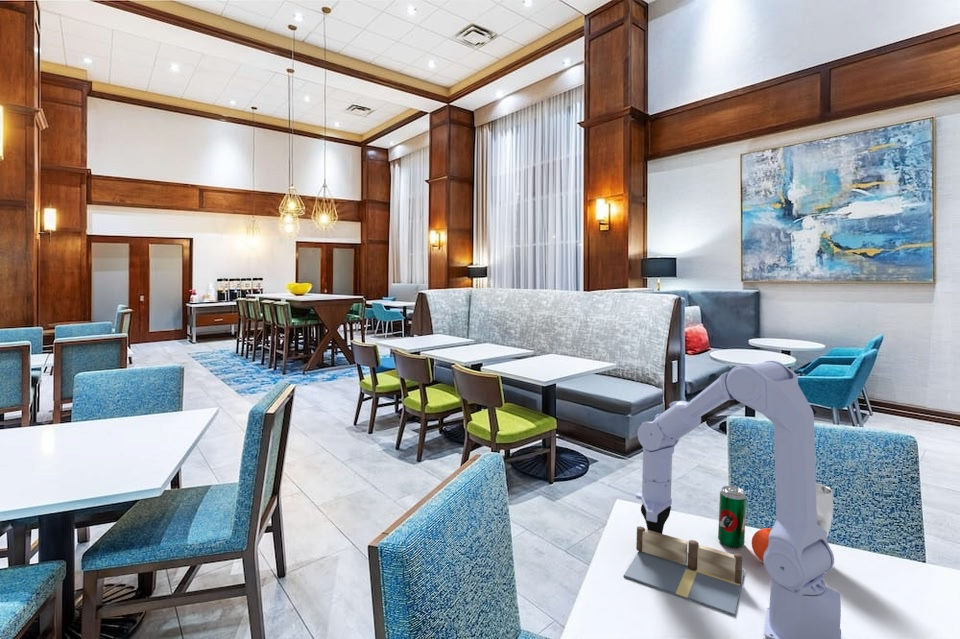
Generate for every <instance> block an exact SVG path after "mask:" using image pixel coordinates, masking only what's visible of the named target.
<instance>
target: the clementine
mask: <svg viewBox="0 0 960 639" xmlns="http://www.w3.org/2000/svg"><path fill="white" fill-rule="evenodd" d="M771 530H772V528H770V527H765V528H761V529H758V530H757V531H756V532H755V533H754V534H753V536H752V538H751V548H752V551H753V553H754V555H755V556H756V557H757V559H759V560H760V561H761V562H762V563H764V562H763V556H764V552H765V551H766V549H767V548H768V544H769V534H770V532H771Z"/></svg>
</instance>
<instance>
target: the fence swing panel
mask: <svg viewBox="0 0 960 639" xmlns="http://www.w3.org/2000/svg"><path fill="white" fill-rule="evenodd" d="M688 543H689V540H688V541H687V540H684V539H681V538H677V537H675V536H674V537H673V536H671V535H668V534H667V535H666V534H663V533H662V534H661V533H657V532H654V531H650V530H647V528H645V527H643V526H641V525H640V526H639V525H638V526H637V527H636V546H635V548H636V551H640V552H645V553H648V554H651V555H655V556H658V557H661V558H664V559H667V560H670V561H674V562H677V563H680V564H683V565H686V563H687V553H688Z"/></svg>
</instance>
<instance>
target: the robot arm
mask: <svg viewBox="0 0 960 639" xmlns="http://www.w3.org/2000/svg"><path fill="white" fill-rule="evenodd" d="M798 378H799V376H798V374H797V373H796V372H794V370H792V369H790V368H789V367H788V366H786V365H785V364H784V363H782V362H780V361H777V360H766V361H764V362H760V363H753V364H742V365H741V364H740V365H736V366H734V367H733V368H731V369H730V371H726V372H724V373H722V374H721V375H719V377H718V378H717V379H716V380H715V381H713V382H712V383H711V384H709V385H708V386H707V387H705V388H704V389H703V390H702V391H701V392H700V393H698V394H697V395H696V396H695V397H693V398H692V399H691V400H690V401H685V400H675V401H672V402H670V403H669V404H668V406H669V408H668V409H666V410H665V411H663V412H662V413H657V414H656V415H655V416H654V419H653V421H643V422H641V424H640V425H639V427H638V428H637V439H638V442H639V444H640V445H641V446H642V476H641V477H642V478H641V479H642V483H641V492H640V491H638V492H636V494H635V498H636V499H637V500H641V502H642V504H641V507H640V512H641V514H642V516H643V518H644V521H645V524H646V525H645V526H646V529H647V530H650V531H654V532H657V533H661V534H663V532H664V526H665V524H666V522H667V521H668V518H670V514H671V511H672V504H673V501H672V474H673V473H672V472H673V470H672V469H673V454H674V453H675V446H676V445H677V444H678V443H679V441H680V439H681V438H683V437H684V436H686V435H688V434H689V433H690V432H692V431H694V430H695V429H697V428H698V427H699V426H700V425H701V423H702V416H704V415H705V414H707V413H709V412H710V411H712V410H714V409H715V408H716V409H717V407H719V406H720V405H722V404H724V403H725V402H727V401H731V400H736V401H737V402H739V403H741V404H743V405H745V406H747V407H748V408H751V409H752V410H754V411H756V412H758V413H760V414H762V415H763V416H764V417H766V418H767V419H768V420H769V421H770V422H771V423H772V424H773V440H774V441H773V445H774V448H773V449H774V473H775V474H774V475H775V476H774V478H775V479H774V480H775V481H774V482H775V505H776V506H775V511H776V514H775V516H776V519H775V522H774V524H773V525H772V526H773V527H772V528H771V529H772V530H771V532H770V534H769V544H768V548H767V549H766V551H765V552H764V556H763V562H762V563H763V566H764V568H765V571H766V572H767V574H768V576H770V589H769V592H770V593H769V606H768V607H767V608H766V609H767V610H766V616H765V624H764V625H765V626H764V632H763V633H764V634H763V636H764V637H765V638H767V639H842V629H841V620H842V619H841V610H842V603H841V602H842V601H841V593H840V591H838V590H836V589H833V588H831V587H829V586H827V585H826V582H825V581H826V580H825V576H826V573H828V572H829V571H831V570H832V569H833V567H834V565H835V555H834V553H833V550H832V548H831V547H830V545H829V543H828V537H827V532H826V531H825V530H824V529H823V528H822V527H820V526H819V525H818V524H817V506H816V483H817V482H816V481H817V480H816V479H817V476H816V474H817V472H816V445H815V444H816V442H815V440H816V439H815V415H814V414H815V413H814V411H813V409H812V407H811V405H810V403H809V401H808V399H807V398H806V396H805V394H804V392H803V391H802V389H801V386H800V385H799V379H798Z"/></svg>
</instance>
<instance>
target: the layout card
mask: <svg viewBox="0 0 960 639" xmlns="http://www.w3.org/2000/svg"><path fill="white" fill-rule="evenodd" d="M637 551H638V550H637ZM744 574H745V569H743V568H742V582H741V584H737V583H735V582H732V581H729V580H726V579H723V578H719V577H716V576H713V575H710V574H707V573H704V572H700V571H697V570H696V571H694V570H690V569H689V568H688V552H687V563H686V565H683V564H680V563H677V562H674V561H670V560H667V559H664V558H661V557H658V556H655V555H651V554H648V553H645V552H640V551H638V552H637V553H636V555H635V556H634V557H633V559H632V561H631V563H630V564H629V565H628V568H627V569H626V571H625V572H624V573H623V577H624V578H626V579H629V580H631V581H634V582H637V583H640V584H642V585H645V586H649V587H651V588H654V589H657V590H660V591H662V592H665V593H668V594H671V595H673V596H677V597H680V598H682V599H684V600H685V599H686V600H687V601H690V602H693V603H696V604H700V605H702V606H704V607H705V606H706V607H708V608H710V609H712V610H716V611H719V612H723V613H725V614H728V615H731V616H733V617H735V615H736V612H737V611H736V610H737V606H738V601H739V599H740V598H739V597H740V593H741V588H742V583H743V580H744V579H743V578H744Z"/></svg>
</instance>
